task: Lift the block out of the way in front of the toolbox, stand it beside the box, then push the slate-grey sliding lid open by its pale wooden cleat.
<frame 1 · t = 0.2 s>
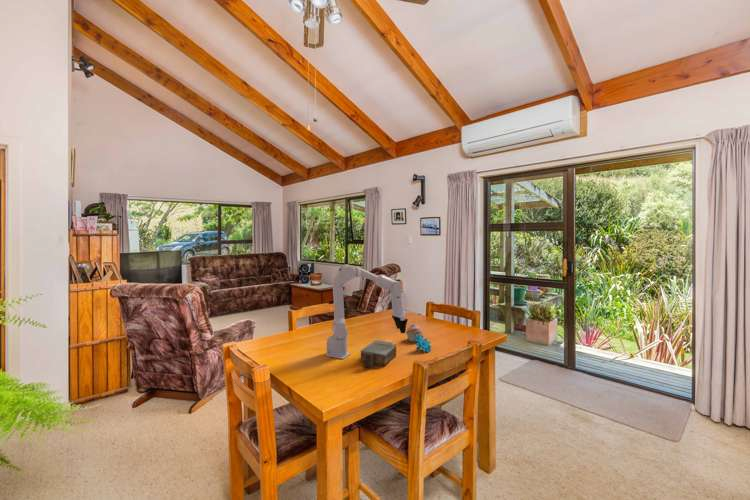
hand: (401, 330, 178), 11 cm above the table, tool pointing down, fingers open, 7 cm apart
gear: (423, 350, 180), on the table
block: (369, 367, 156), on the table
cupcake: (413, 341, 195), on the table
lid: (379, 346, 166), point 6 cm above the table, slide at 0.0 cm
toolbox: (378, 359, 167), on the table
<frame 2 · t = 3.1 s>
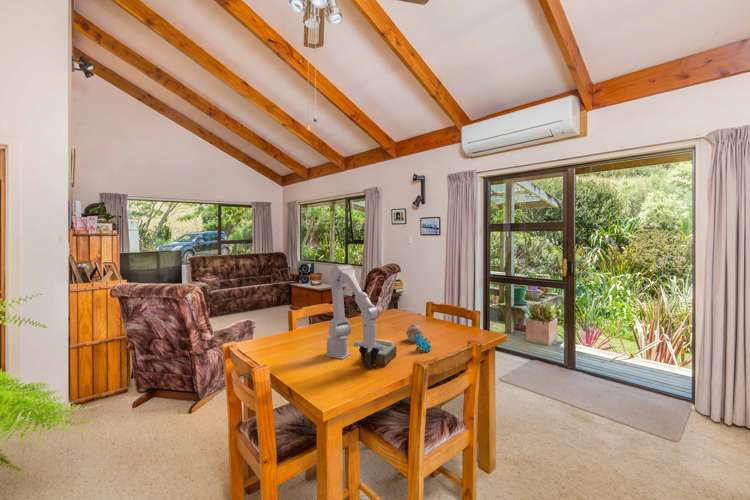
hand: (369, 364, 156), 2 cm above the table, tool pointing down, fingers closed on block, 3 cm apart
block: (369, 367, 156), on the table, touching gripper
everything else where it was.
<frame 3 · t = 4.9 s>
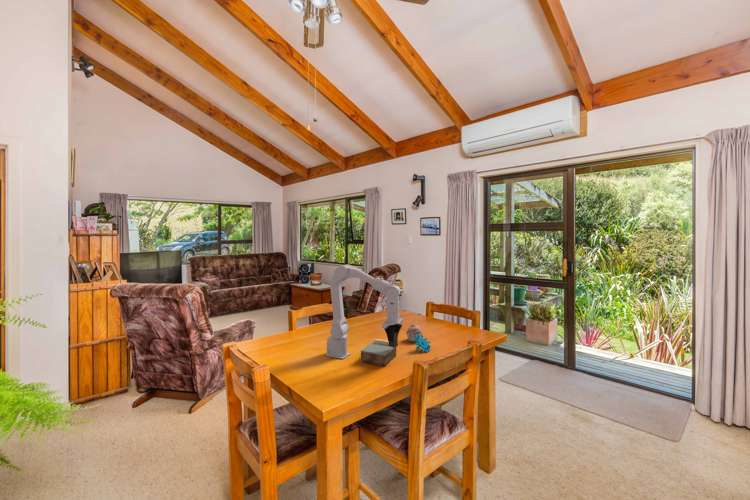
hand: (392, 340, 163), 10 cm above the table, tool pointing down, fingers closed on block, 3 cm apart
block: (393, 346, 163), point 7 cm above the table, touching gripper
everything else where it was.
when the fingers open (3 cm above the table, at t = 6.8 s): block stays where it is, on the table.
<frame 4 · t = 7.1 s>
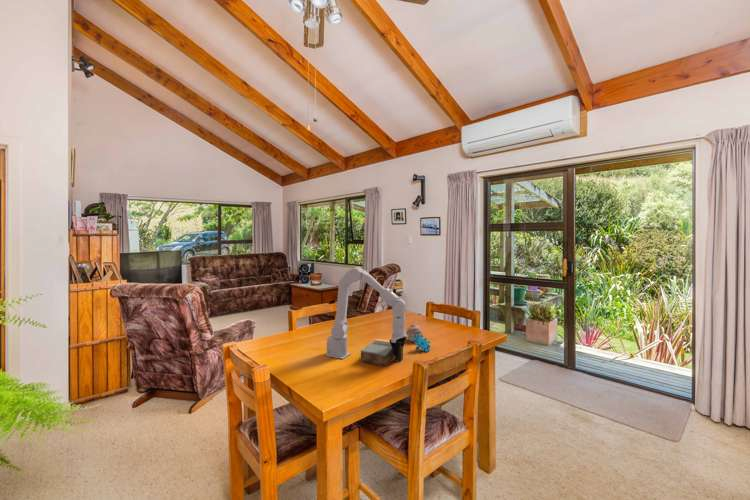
hand: (398, 353, 166), 3 cm above the table, tool pointing down, fingers open, 5 cm apart
block: (398, 360, 166), on the table
everything else where it was.
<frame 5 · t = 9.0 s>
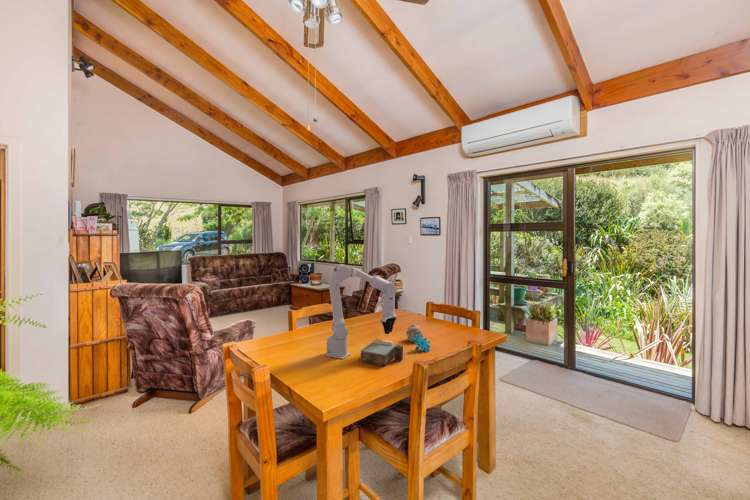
hand: (388, 332, 177), 9 cm above the table, tool pointing down, fingers open, 3 cm apart
nothing on the table moved.
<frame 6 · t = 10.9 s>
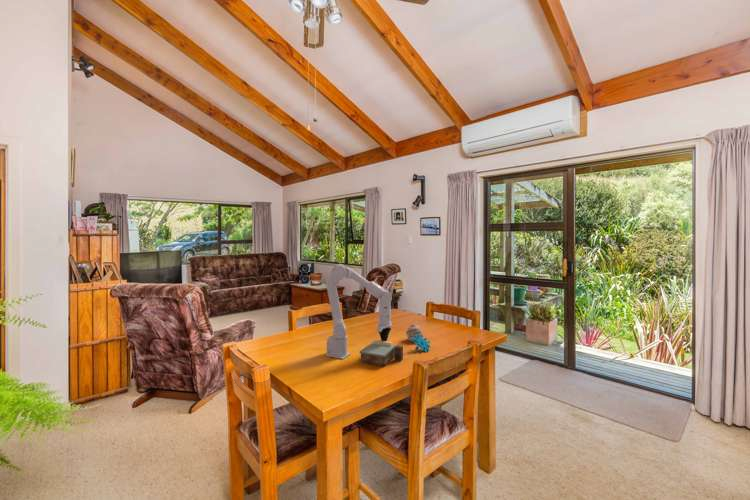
hand: (384, 342, 172), 6 cm above the table, tool pointing down, fingers closed
lid: (378, 347, 165), point 6 cm above the table, slide at 1.2 cm, touching gripper
everything else where it was.
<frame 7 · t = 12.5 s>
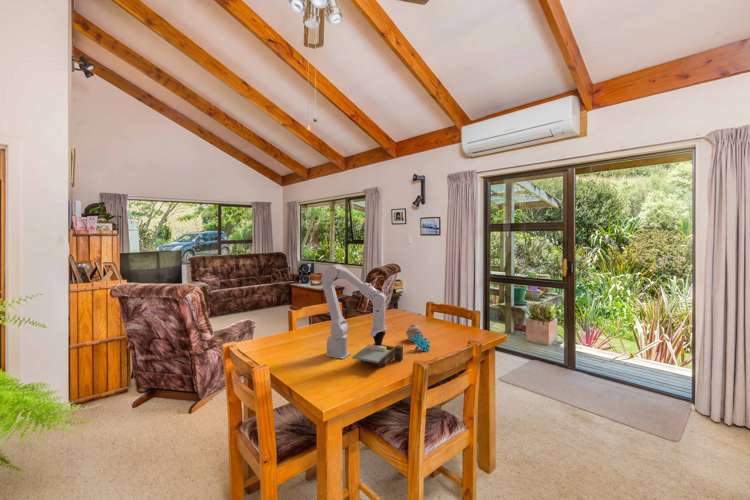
hand: (378, 347, 165), 6 cm above the table, tool pointing down, fingers closed
lid: (371, 352, 158), point 6 cm above the table, slide at 8.7 cm, touching gripper
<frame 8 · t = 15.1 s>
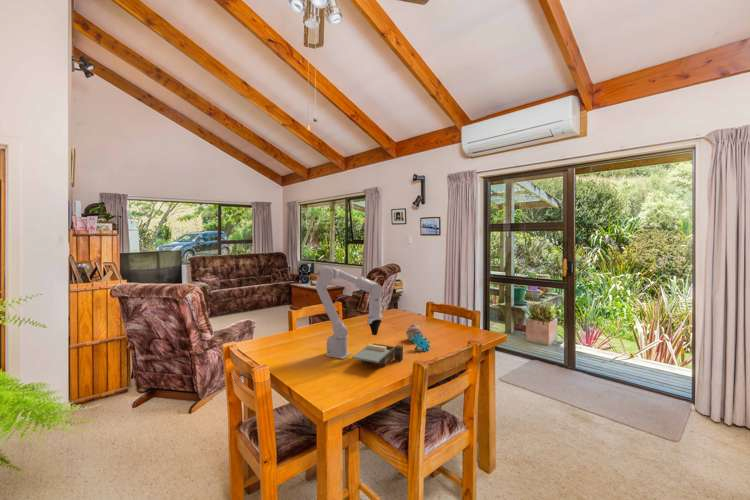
hand: (374, 334, 174), 9 cm above the table, tool pointing down, fingers closed
lid: (371, 352, 158), point 6 cm above the table, slide at 8.7 cm
at the end: lid slide at 8.7 cm; block inside the target area (0.4 cm from its centre), on the table; block tilted 0° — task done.
